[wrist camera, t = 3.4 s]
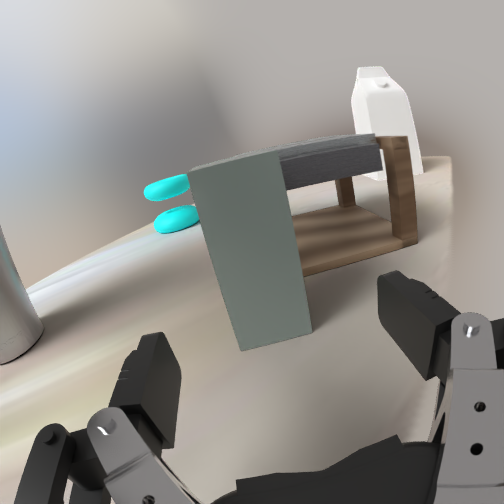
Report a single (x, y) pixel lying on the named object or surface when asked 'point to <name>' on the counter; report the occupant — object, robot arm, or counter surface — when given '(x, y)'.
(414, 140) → the milk
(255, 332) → the soapstone block
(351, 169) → the trapdoor
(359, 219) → the frame
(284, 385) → the counter surface
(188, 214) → the donuts
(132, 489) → the robot arm
